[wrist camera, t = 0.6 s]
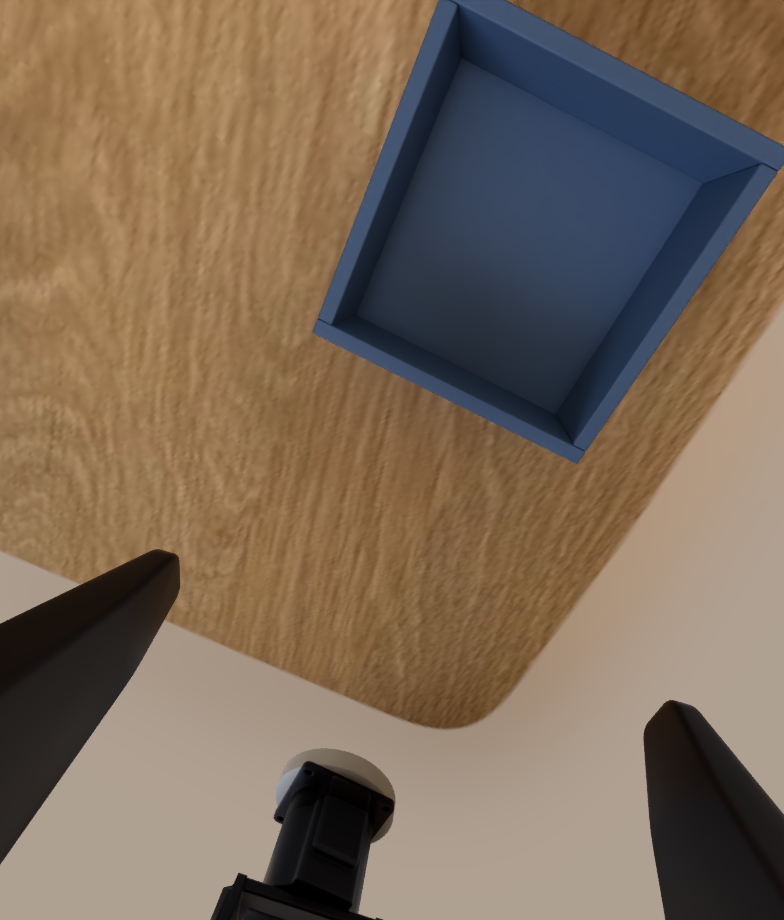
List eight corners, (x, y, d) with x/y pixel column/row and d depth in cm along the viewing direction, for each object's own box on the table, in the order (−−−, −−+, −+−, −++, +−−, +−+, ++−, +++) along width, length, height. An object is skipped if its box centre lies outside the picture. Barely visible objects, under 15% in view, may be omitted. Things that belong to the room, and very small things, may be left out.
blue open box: (557, 426, 20) (577, 464, 16) (342, 319, 19) (311, 333, 16) (719, 176, 16) (794, 150, 12) (455, 39, 16) (449, -31, 12)
